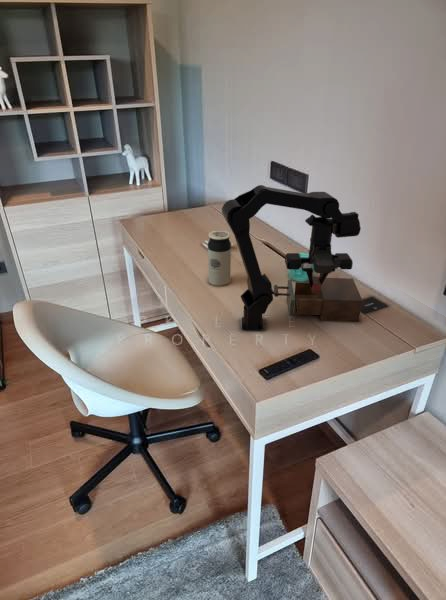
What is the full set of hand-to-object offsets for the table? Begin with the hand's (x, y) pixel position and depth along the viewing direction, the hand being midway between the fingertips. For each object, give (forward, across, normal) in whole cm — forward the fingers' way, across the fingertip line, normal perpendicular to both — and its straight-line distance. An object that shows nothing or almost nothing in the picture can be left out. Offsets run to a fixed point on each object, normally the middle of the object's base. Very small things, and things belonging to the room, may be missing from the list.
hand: (314, 286), depth 129 cm
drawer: (+10, -4, +6) cm, 12 cm away
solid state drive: (+12, +20, +8) cm, 25 cm away
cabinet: (+11, +9, +5) cm, 15 cm away
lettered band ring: (+11, -28, +54) cm, 62 cm away
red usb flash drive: (+1, 0, +2) cm, 2 cm away
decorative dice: (+11, +1, +28) cm, 30 cm away
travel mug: (+11, -29, +25) cm, 40 cm away
